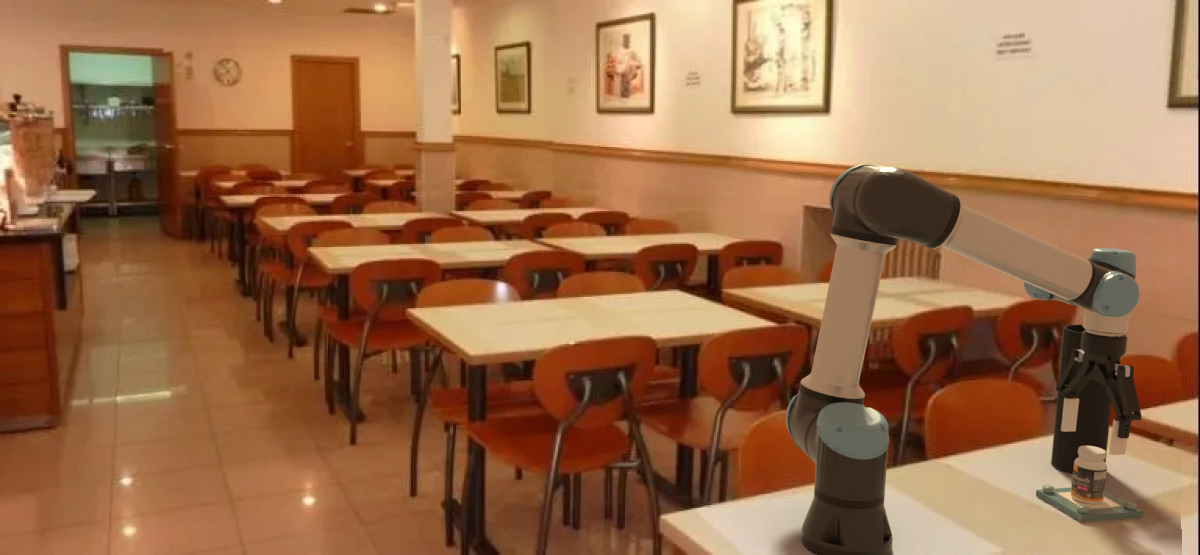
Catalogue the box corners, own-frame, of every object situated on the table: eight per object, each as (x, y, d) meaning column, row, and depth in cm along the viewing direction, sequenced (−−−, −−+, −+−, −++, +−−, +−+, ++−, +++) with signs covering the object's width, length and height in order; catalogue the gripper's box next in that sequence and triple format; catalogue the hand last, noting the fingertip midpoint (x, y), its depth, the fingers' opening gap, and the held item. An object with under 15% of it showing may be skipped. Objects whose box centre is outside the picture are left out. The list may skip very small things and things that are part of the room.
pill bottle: (1063, 496, 189) (1068, 446, 187) (1084, 492, 191) (1089, 443, 189) (1089, 506, 184) (1094, 455, 182) (1110, 502, 186) (1115, 452, 184)
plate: (1080, 521, 180) (1081, 510, 180) (1035, 495, 193) (1036, 484, 192) (1142, 517, 183) (1143, 506, 182) (1094, 491, 195) (1095, 481, 195)
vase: (1113, 476, 204) (1128, 335, 199) (1065, 475, 204) (1078, 334, 199) (1089, 459, 214) (1102, 324, 209) (1042, 459, 214) (1055, 324, 209)
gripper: (1173, 347, 171) (1158, 463, 174) (1077, 318, 195) (1066, 421, 198) (1136, 347, 169) (1121, 465, 173) (1044, 318, 194) (1032, 422, 197)
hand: (1091, 442), depth 186 cm, fingers open, 13 cm apart
